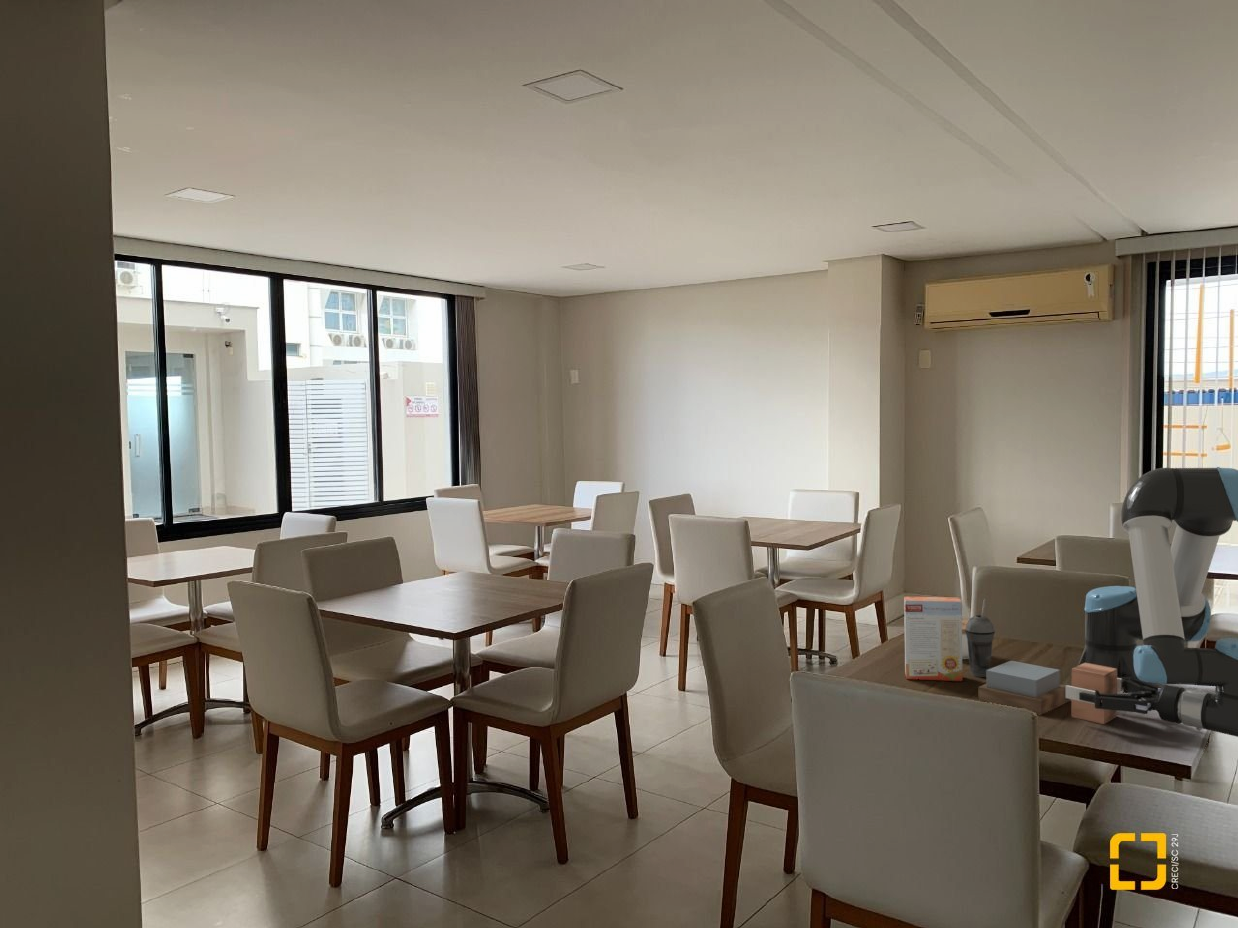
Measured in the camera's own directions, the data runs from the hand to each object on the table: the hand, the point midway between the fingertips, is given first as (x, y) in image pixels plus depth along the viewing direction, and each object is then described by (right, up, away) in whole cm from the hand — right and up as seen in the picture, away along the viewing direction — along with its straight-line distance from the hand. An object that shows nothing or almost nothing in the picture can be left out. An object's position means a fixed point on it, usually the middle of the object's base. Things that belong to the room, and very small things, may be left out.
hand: (1079, 685), depth 210 cm
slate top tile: (-8, -3, +10) cm, 13 cm away
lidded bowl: (-9, -4, +50) cm, 51 cm away
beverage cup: (-10, -5, +32) cm, 34 cm away
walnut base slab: (-8, -7, +10) cm, 15 cm away
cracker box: (-23, -5, +30) cm, 38 cm away
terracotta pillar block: (+2, -7, -2) cm, 7 cm away
